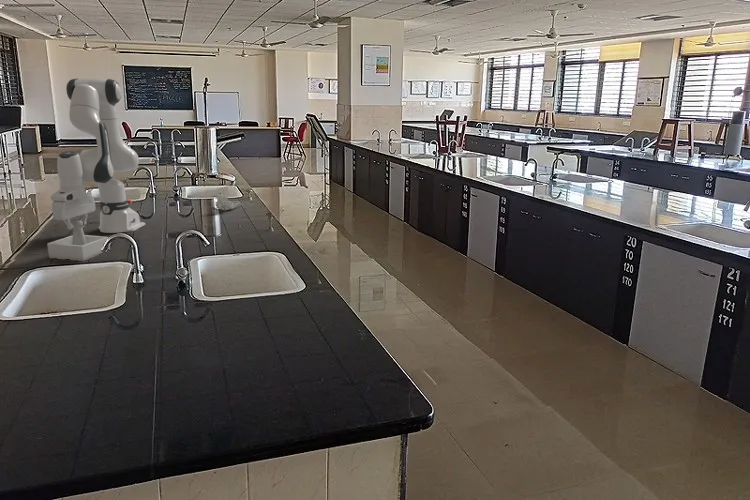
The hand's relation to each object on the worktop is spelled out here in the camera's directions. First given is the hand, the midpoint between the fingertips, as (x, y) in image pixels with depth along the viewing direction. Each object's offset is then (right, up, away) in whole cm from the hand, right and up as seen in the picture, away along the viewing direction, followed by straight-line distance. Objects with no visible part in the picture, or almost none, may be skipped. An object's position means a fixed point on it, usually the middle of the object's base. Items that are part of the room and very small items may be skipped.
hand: (77, 226), depth 235 cm
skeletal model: (+35, +13, +95) cm, 102 cm away
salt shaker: (0, -10, +3) cm, 11 cm away
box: (0, -11, +3) cm, 12 cm away
